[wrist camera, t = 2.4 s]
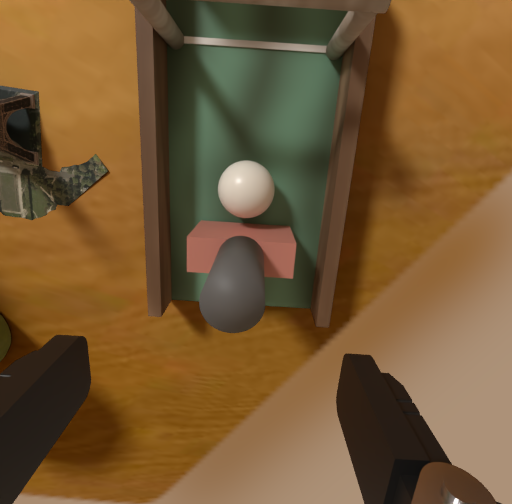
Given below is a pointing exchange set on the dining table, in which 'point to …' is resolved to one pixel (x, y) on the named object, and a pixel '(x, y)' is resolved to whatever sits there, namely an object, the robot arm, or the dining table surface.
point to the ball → (246, 189)
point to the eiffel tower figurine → (34, 162)
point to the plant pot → (4, 338)
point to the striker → (238, 269)
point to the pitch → (250, 129)
